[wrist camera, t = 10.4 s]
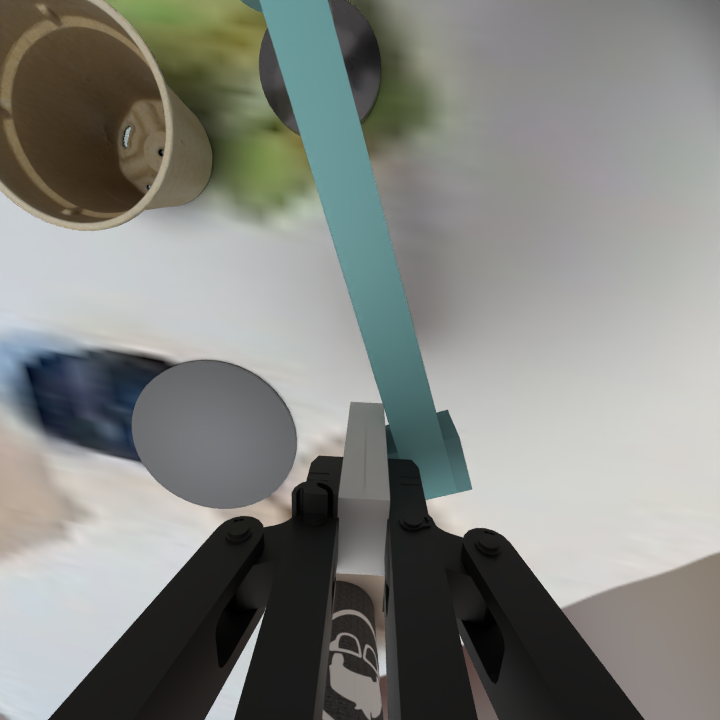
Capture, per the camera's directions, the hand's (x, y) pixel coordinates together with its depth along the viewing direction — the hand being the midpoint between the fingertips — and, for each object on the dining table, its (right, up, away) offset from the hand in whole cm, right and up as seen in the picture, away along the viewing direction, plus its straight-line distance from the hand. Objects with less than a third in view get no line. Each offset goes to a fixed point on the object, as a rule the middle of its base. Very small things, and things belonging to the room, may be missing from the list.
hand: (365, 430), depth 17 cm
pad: (-12, -3, +13) cm, 18 cm away
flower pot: (-13, +16, +7) cm, 22 cm away
